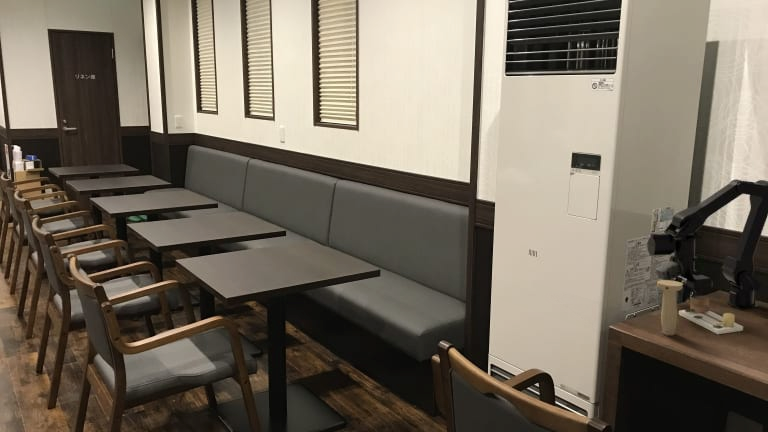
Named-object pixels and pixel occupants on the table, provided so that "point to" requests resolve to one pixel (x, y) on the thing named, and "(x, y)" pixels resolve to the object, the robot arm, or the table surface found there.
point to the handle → (669, 305)
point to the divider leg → (698, 304)
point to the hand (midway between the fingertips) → (682, 302)
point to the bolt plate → (713, 321)
